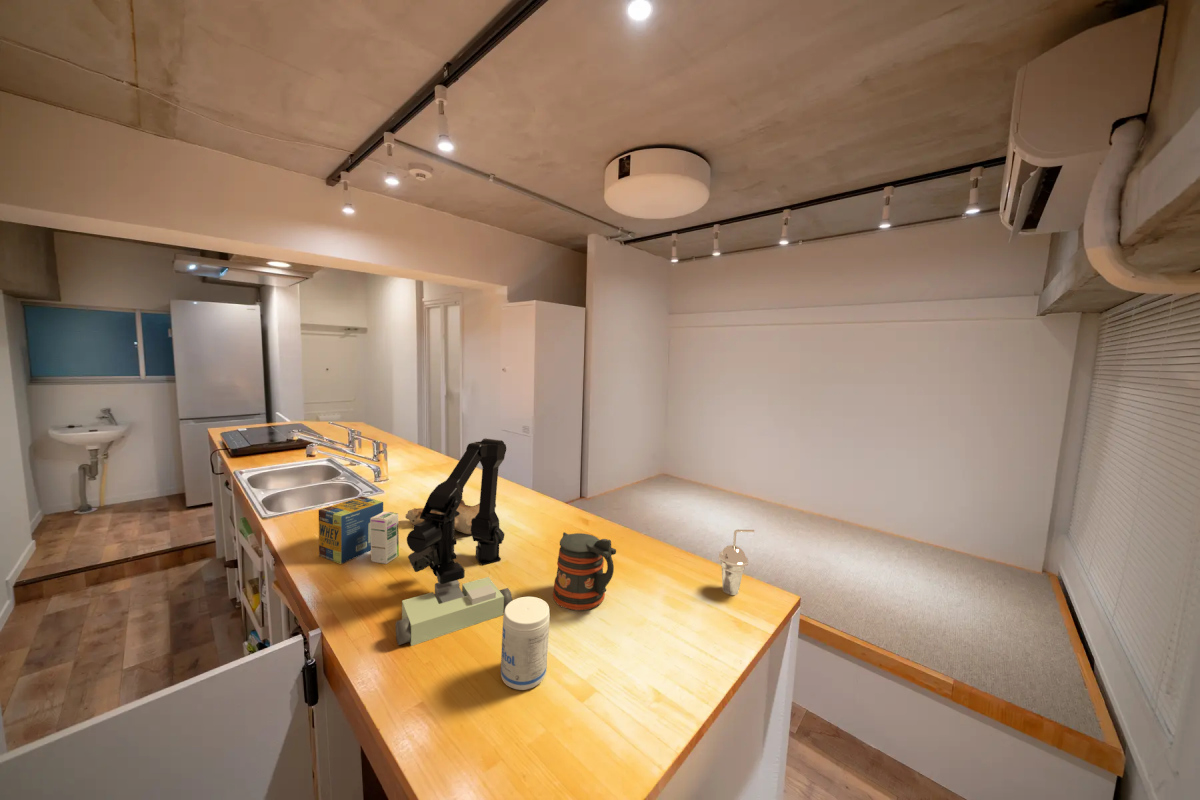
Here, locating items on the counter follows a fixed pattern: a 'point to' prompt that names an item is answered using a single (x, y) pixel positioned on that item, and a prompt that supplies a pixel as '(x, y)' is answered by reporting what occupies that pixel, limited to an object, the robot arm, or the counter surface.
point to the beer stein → (582, 571)
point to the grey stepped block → (448, 591)
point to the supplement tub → (525, 642)
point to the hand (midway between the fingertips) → (442, 590)
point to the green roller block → (450, 612)
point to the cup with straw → (733, 566)
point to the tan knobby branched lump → (461, 520)
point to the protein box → (347, 528)
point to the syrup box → (384, 537)
